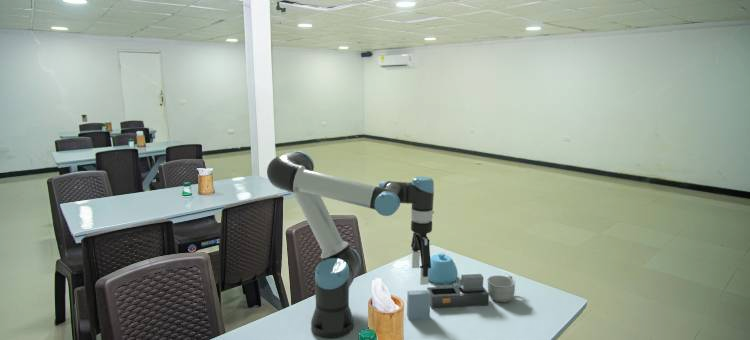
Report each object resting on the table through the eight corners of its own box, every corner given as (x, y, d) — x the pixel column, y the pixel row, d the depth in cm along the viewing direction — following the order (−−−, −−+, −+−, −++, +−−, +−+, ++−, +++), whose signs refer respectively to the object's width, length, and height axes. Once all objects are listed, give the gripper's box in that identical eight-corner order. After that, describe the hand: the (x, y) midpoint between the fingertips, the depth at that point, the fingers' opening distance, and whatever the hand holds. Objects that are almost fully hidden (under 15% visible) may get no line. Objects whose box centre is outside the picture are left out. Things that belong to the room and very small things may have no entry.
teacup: (501, 307, 160) (503, 289, 159) (480, 296, 169) (481, 278, 168) (524, 298, 168) (526, 280, 167) (503, 287, 177) (504, 270, 175)
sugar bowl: (422, 270, 193) (423, 247, 191) (454, 271, 193) (455, 248, 191) (425, 285, 179) (426, 260, 176) (459, 286, 178) (461, 261, 176)
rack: (431, 309, 159) (432, 282, 157) (426, 298, 167) (427, 273, 164) (488, 306, 162) (490, 280, 160) (481, 296, 169) (482, 271, 167)
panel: (408, 319, 151) (409, 294, 150) (406, 315, 154) (407, 290, 152) (429, 318, 152) (430, 293, 150) (427, 314, 155) (428, 289, 153)
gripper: (442, 231, 135) (439, 291, 139) (423, 209, 159) (421, 261, 163) (419, 232, 134) (417, 292, 138) (404, 210, 158) (403, 261, 162)
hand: (419, 275), depth 150 cm, fingers open, 13 cm apart
